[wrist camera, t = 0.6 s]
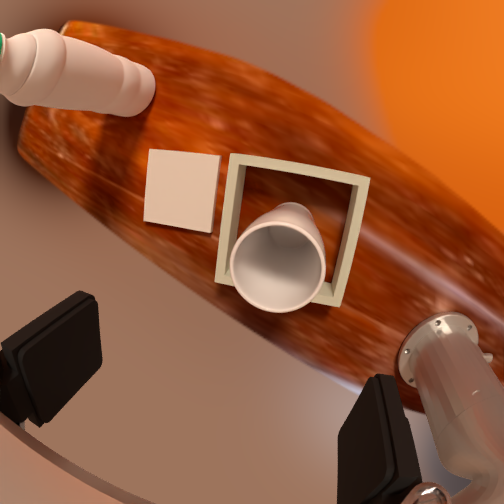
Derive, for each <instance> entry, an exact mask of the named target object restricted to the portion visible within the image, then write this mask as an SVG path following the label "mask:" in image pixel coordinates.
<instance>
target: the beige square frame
mask: <svg viewBox="0 0 504 504" xmlns="http://www.w3.org/2000/svg"><path fill="white" fill-rule="evenodd" d="M247 165H248V166H254V167H261V168H267V169H273V170H279V171H285V172H291V173H297V174H302V175H308V176H313V177H318V178H323V179H328V180H333V181H338V182H343V183H348V184H352V185H353V188H352V193H351V198H350V203H349V208H348V213H347V218H346V223H345V227H344V232H343V236H342V241H341V245H340V250H339V254H338V258H337V263H336V267H335V271H334V275H333V279H332V283H327V282H323V285H322V287H321V289H320V291H319V292H318V294H317V295H316V296H315V297H314V299H313V300H311V301H310V302H314V303H319V304H325V305H330V306H335V307H340V305H341V301H342V298H343V294H344V291H345V287H346V283H347V279H348V276H349V272H350V268H351V264H352V260H353V256H354V252H355V248H356V244H357V239H358V235H359V231H360V226H361V222H362V217H363V212H364V208H365V203H366V198H367V193H368V187H369V182H370V178H368V177H365V176H361V175H357V174H352V173H347V172H343V171H338V170H333V169H328V168H323V167H318V166H313V165H307V164H302V163H296V162H290V161H284V160H278V159H272V158H265V157H259V156H252V155H245V154H235V153H230V160H229V167H228V175H227V182H226V190H225V198H224V206H223V214H222V222H221V230H220V239H219V247H218V256H217V265H216V274H215V282H217V283H222V284H226V285H231V286H234V284H233V281H232V279H231V275H230V267H229V265H230V256H231V252H232V249H233V247H234V245H235V243H236V238H237V231H238V223H239V216H240V209H241V201H242V194H243V187H244V180H245V173H246V166H247Z"/></svg>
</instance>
